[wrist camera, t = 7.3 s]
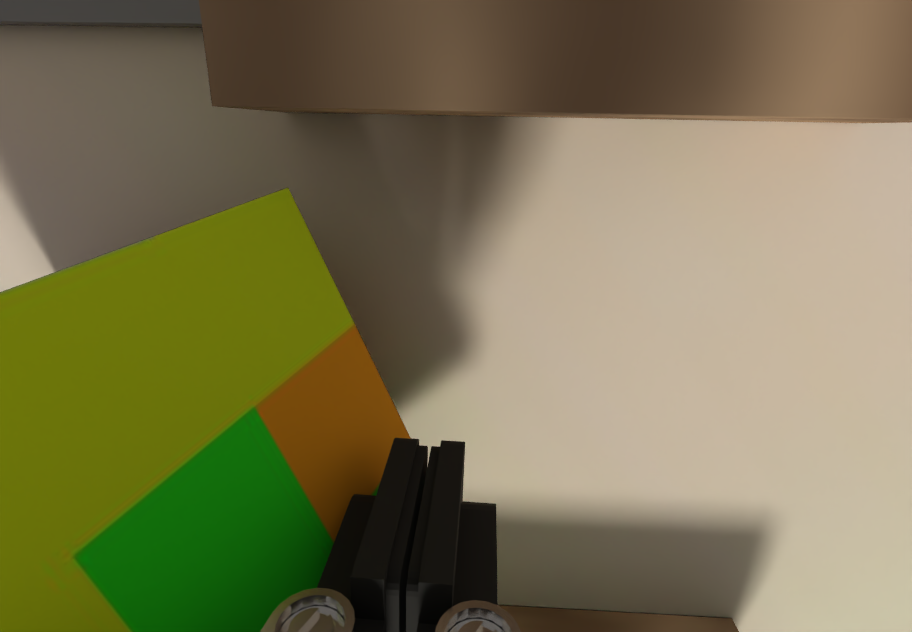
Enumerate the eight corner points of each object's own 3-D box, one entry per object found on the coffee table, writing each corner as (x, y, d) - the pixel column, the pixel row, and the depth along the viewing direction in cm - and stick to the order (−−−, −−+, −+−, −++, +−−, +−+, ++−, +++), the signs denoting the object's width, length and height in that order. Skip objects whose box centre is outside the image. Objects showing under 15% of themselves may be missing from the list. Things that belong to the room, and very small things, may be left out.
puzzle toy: (66, 287, 16) (-577, 542, 8) (287, 187, 11) (-819, 590, 3) (228, 533, 19) (-124, 900, 11) (460, 540, 14) (130, 1222, 6)
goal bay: (234, -18, 13) (225, -24, 13) (306, 651, 21) (302, 663, 20) (-217, -22, 14) (-242, -27, 13) (17, 633, 21) (7, 645, 21)
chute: (885, 35, 13) (1053, -4, 9) (721, 658, 20) (777, 782, 16) (277, 27, 13) (197, -12, 10) (329, 634, 20) (294, 748, 17)
